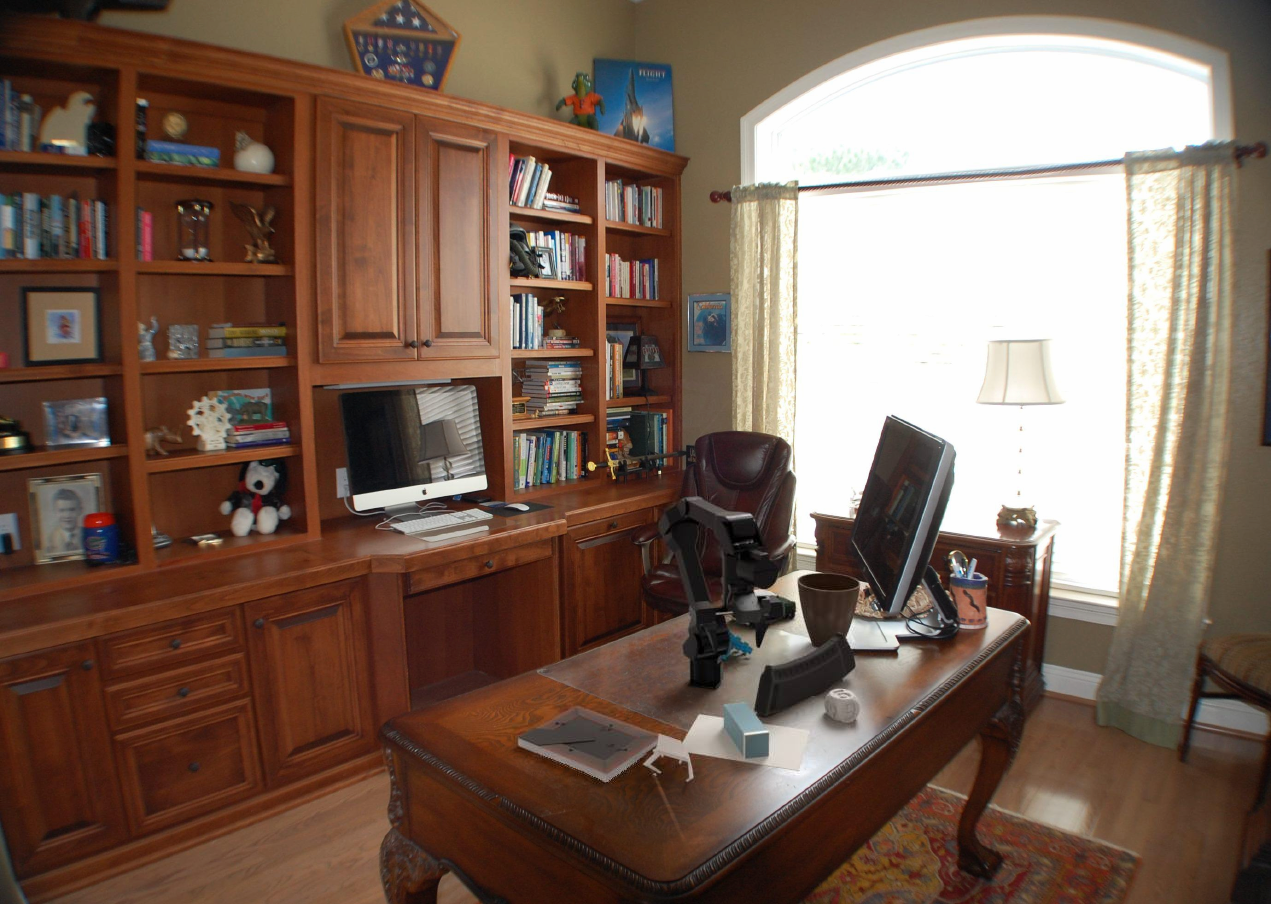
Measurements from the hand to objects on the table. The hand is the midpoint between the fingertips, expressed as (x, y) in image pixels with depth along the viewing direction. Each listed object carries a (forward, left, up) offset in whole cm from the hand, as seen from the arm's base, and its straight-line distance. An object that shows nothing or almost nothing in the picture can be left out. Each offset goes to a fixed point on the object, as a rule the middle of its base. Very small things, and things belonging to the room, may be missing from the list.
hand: (736, 649), depth 165 cm
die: (+21, +1, -12) cm, 24 cm away
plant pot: (+14, +39, -12) cm, 43 cm away
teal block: (+2, -10, -9) cm, 14 cm away
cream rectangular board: (+5, -15, -12) cm, 20 cm away
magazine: (+13, +9, -12) cm, 20 cm away
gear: (-7, +25, -12) cm, 29 cm away
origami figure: (-5, -29, -12) cm, 32 cm away
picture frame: (-23, -24, -13) cm, 35 cm away
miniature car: (-4, +52, -12) cm, 53 cm away
